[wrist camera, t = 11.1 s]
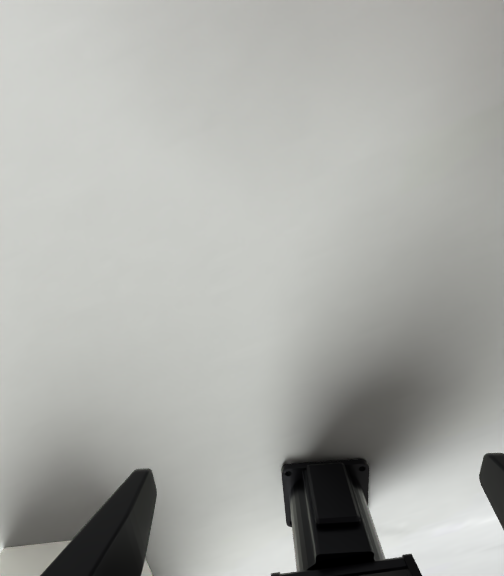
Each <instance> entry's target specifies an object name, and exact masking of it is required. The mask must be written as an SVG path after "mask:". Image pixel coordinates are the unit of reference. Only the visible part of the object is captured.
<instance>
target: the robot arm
mask: <svg viewBox="0 0 504 576" xmlns="http://www.w3.org/2000/svg"><path fill="white" fill-rule="evenodd" d="M281 471H282V482H283V492H284V503H285V513H286V523H287V525H288V526H289V527H292V530H293V540H294V549H295V559H296V569H297V572H291V573H284V574H280V572H278V573H271V576H422V575H421V573H420V571H419V568H418V566H417V564H416V562H415V560H414V558H413V556H412V554H406V555H402V557H399V558H391V559H385V557H384V554H383V551H382V548H381V545H380V542H379V539H378V536H377V533H376V530H375V527H374V524H373V520H372V517H371V514H370V511H369V508H368V482H369V466H368V464H367V462H366V460H363V459H357V460H342V461H328V462H313V463H299V464H286V465H284V466H283V467H282V469H281ZM287 471H288V472H287ZM479 479H480V483H481V486H482V488H483V490H484V492H485V494H486V496H487V498H488V500H489V502H490V504H491V506H492V508H493V510H494V512H495V514H496V516H497V518H498V520H499V522H500V524H501V526H502V528H503V529H504V454H503V453H487V454H485V455H484V458H483V462H482V466H481V470H480V474H479ZM156 496H157V491H156V486H155V481H154V477H153V473H152V470H151V469H137V470H135V471H134V472H133V473H132V474H131V475H130V476H129V477H128V478H127V479H126V480H125V482H124V483H123V484H122V485H121V486H120V487H119V488H118V489H117V490H116V492H115V493H114V494H113V495H112V496H111V497H110V498H109V499H108V501H107V502H106V503H105V504H104V505H103V506H102V507H101V508H100V509H99V511H98V512H97V513H96V514H95V515H94V516H93V517H92V518H91V519H90V521H89V522H88V523H87V524H86V525H85V526H84V527H83V528H82V529H81V531H80V532H79V533H78V534H77V535H76V536H75V537H74V538H73V539H72V541H71V542H70V543H69V544H68V545H67V546H66V547H65V548H64V549H63V551H62V552H61V553H60V554H59V555H58V556H57V557H56V558H55V559H54V561H53V562H52V563H51V564H50V565H49V566H48V567H47V568H46V570H45V571H44V572H43V573H42V574H41V575H40V576H141V573H142V569H143V566H144V561H145V556H146V551H147V546H148V540H149V535H150V530H151V524H152V519H153V513H154V508H155V503H156Z"/></svg>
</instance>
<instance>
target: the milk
mask: <svg viewBox="0 0 504 576" xmlns="http://www.w3.org/2000/svg"><path fill="white" fill-rule="evenodd" d="M71 541H72V540H69V541H60V542H51V543H43V544H34V545H25V546H16V547H7V548H4V549H3V550H2V552H1V554H0V576H40V575H41V574H42V573H43V572H44V571H45V570H46V568H47V567H48V566H49V565H50V564H51V563H52V562H53V561H54V559H55V558H56V557H57V556H58V555H59V554H60V553H61V552H62V551H63V549H64V548H65V547H66V546H67V545H68V544H69V543H70V542H71ZM141 576H153V574H152V572H151V570H150V568H149V565H148V563H147V561H146V559H145V561H144V566H143V569H142V573H141Z"/></svg>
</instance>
